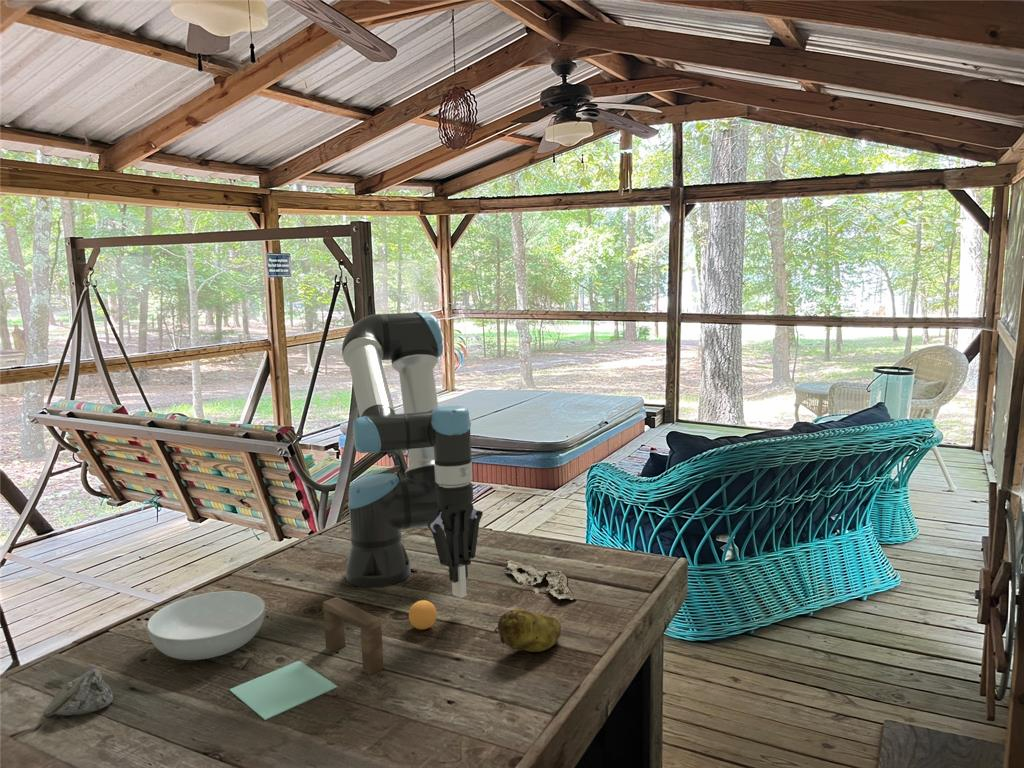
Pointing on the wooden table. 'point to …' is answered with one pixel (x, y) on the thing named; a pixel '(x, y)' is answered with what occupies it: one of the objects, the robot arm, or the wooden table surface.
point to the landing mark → (282, 689)
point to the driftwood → (555, 578)
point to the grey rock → (81, 695)
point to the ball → (422, 614)
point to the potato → (528, 630)
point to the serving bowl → (206, 624)
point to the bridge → (368, 624)
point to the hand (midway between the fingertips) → (459, 595)
